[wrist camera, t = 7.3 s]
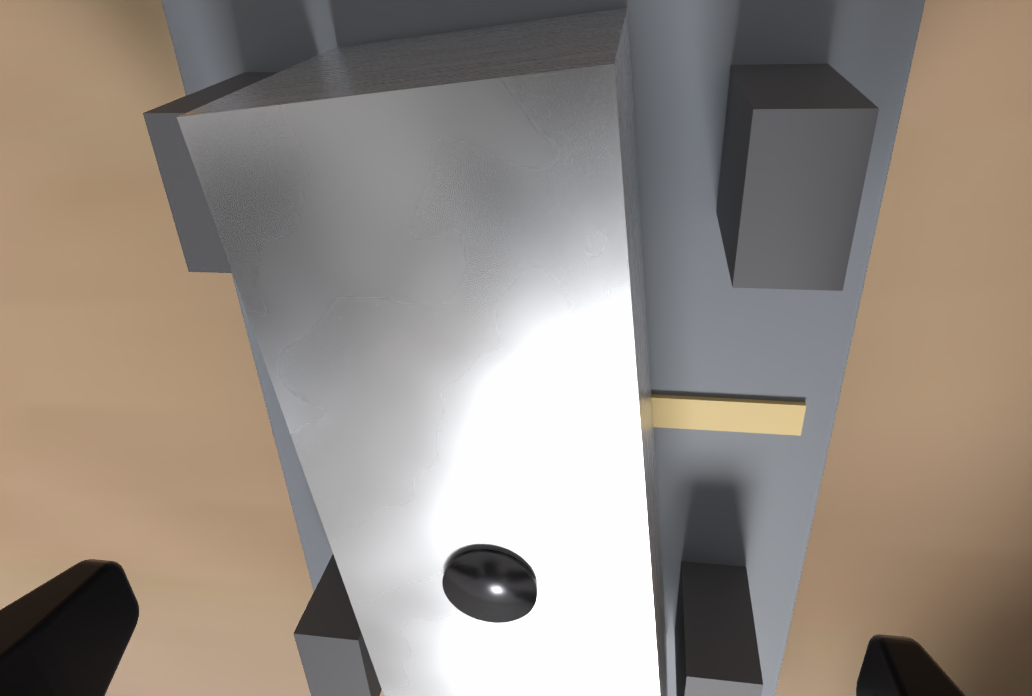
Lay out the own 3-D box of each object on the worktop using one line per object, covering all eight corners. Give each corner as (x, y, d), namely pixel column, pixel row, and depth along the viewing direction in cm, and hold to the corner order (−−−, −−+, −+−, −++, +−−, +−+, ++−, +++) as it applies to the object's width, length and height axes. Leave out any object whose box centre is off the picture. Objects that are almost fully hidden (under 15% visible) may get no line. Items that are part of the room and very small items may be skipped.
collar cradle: (764, 678, 17) (787, 841, 14) (348, 632, 18) (289, 772, 16) (935, -174, 9) (1077, -215, 6) (170, -127, 10) (-22, -140, 7)
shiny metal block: (666, 641, 15) (671, 858, 12) (478, 635, 16) (431, 836, 13) (627, 7, 9) (613, 65, 6) (335, 47, 10) (170, 119, 7)
